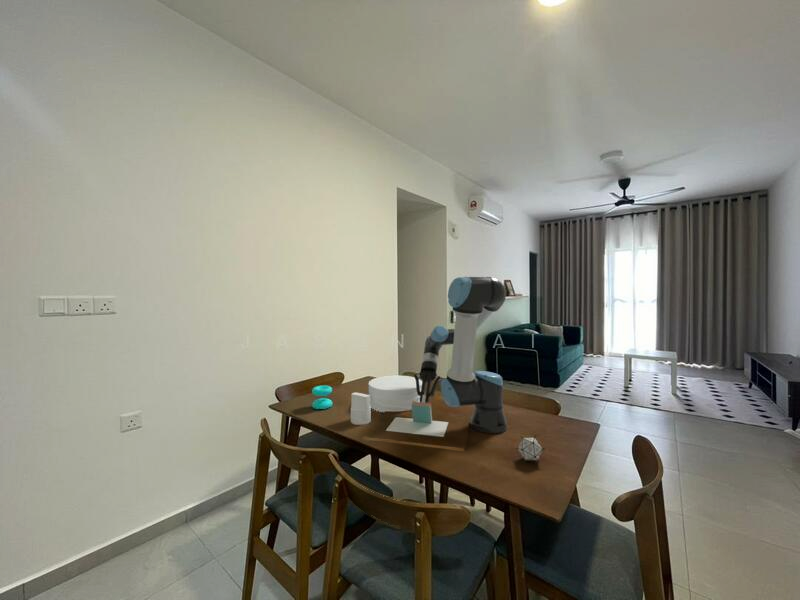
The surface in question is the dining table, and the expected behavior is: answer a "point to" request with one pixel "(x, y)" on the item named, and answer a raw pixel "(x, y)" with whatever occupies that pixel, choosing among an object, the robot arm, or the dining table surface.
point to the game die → (530, 448)
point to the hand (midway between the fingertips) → (422, 409)
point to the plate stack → (393, 393)
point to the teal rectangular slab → (421, 412)
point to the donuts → (322, 402)
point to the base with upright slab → (360, 408)
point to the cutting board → (418, 427)
